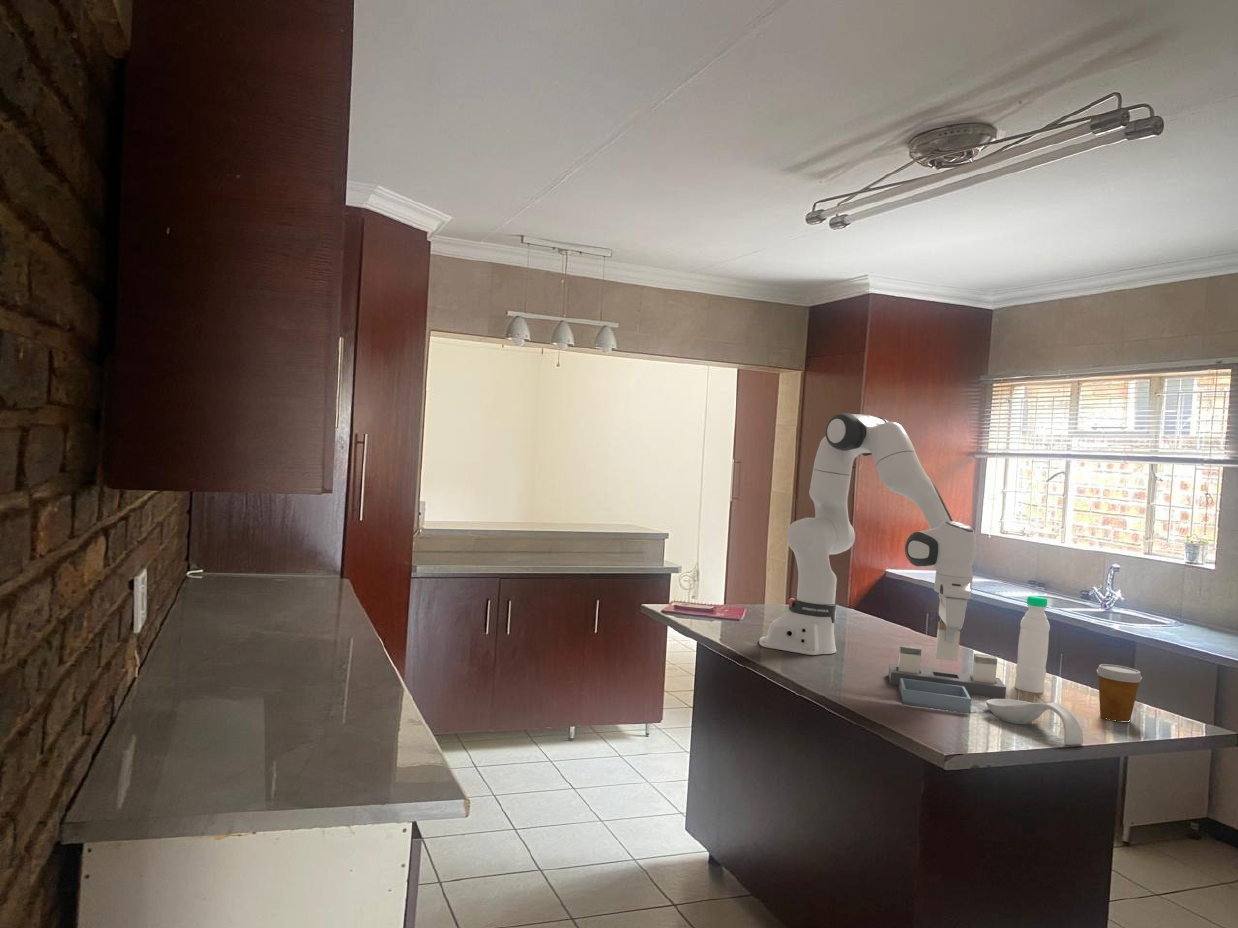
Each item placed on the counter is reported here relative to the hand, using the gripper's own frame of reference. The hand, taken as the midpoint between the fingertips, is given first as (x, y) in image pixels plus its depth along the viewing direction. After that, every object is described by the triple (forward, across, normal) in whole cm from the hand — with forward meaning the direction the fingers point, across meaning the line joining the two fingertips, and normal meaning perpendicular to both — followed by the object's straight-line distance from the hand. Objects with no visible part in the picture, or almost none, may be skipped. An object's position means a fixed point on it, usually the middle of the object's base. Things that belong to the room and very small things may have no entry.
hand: (947, 640), depth 228 cm
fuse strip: (+13, 0, 0) cm, 13 cm away
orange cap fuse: (+5, 0, 0) cm, 5 cm away
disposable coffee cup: (+13, +5, +38) cm, 41 cm away
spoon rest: (+13, +24, +17) cm, 32 cm away
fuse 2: (+12, 0, +9) cm, 15 cm away
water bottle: (+13, -11, +22) cm, 28 cm away
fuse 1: (+12, 0, -9) cm, 15 cm away
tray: (+13, +14, -4) cm, 19 cm away
